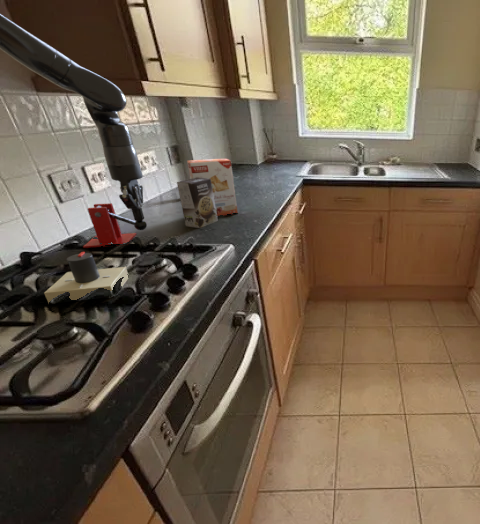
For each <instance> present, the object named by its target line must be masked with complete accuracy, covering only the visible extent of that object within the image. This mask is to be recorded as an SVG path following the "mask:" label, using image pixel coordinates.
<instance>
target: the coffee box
mask: <svg viewBox="0 0 480 524" xmlns="http://www.w3.org/2000/svg"><path fill="white" fill-rule="evenodd" d="M176 184H177V189H178V190H177V191H178V195H179V200H180V204H181V209H182V215H183V218H184V224H185V227H190V228H197V229H201V228H203V227H206V226H209V225H211V224H214V223H216V222H218V221H219V220H218V216H217V212H216V207H215V201H214V195H213V189H212V183H211V179H207V178H194V179H191V178H189V179H185V180H179V181H176Z"/></svg>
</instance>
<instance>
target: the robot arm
mask: <svg viewBox="0 0 480 524" xmlns="http://www.w3.org/2000/svg"><path fill="white" fill-rule="evenodd" d="M0 51H2V52H4V53H5V54H7V55H8V56H9V57H11V58H12V59H13V60H14V61H16V62H18V63H19V64H21V65H22V66H24V67H25V68H27V69H28V70H30V71H32V72H33V73H35V74H37V75H39V76H41V77H42V78H43V79H46V80H47V81H49V82H50V83H52V84H54V85H55V86H58V87H59V88H61V89H63V90H67V91H69V92H74V93H76V94H77V95H80V96H82V99H83V103H84V105H85V108H86V110H87V112H88V114H89V116H90V118H91V120H92V121H93V123H94V125H95V126H96V129H97V131H98V135H99V139H100V142H101V146H102V149H103V155H104V159H105V162H106V165H107V168H108V172H109V175H110V179H111V180H113V181H116V182H119V184H120V185H119V186H120V187H119V190H120V192H121V194H119V195H118V198H119V199H120V201H121V202H122V203H123V205H124V206H125V207H126V209H127V210H131V212H132V216H133V220H134V221H142V220H143V221H144V220H145V216H144V215H145V214H144V212H143V204H144V191H143V190H144V187H143V185H141V184H140V183H139V181H138V180H141V179H142V178H143V177H144V175H143V173H142V172H143V171H142V168H141V164H140V160H139V157H138V153H137V151H136V148H135V146H134V142H133V138H132V135H131V131H130V129H129V127H128V125H127V124H126V123H124V122H122V120H121V118H120V116H119V114H118V113H119V112H122V111H123V110H124V109H126V106H127V98H126V95H125V94H124V92H123V91H122V89H120V88H119V86H117V85H116V84H114V82H112V81H110V80H108V79H107V78H104V77H103V76H101V75H99V74H98V73H95V72H93V71H91V70H90V69H87V68H85V67H83V66H81V65H79V64H78V63H77V62H75V61H74V60H72V59H71V58H70V57H68V56H67V55H65V54H63V53H62V52H61V51H58V49H56V48H54V47H52V46H51V45H50V44H48V43H47V42H45V41H43V40H41V39H40V38H39V37H38V36H35V35H34V34H33V33H31V32H29V31H27V30H26V29H25V28H23V27H21V26H20V25H18V24H17V23H15V22H14V21H12V20H10V19H9V18H8V17H6V16H4V15H3V14H2V13H0Z"/></svg>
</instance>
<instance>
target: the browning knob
mask: <svg viewBox="0 0 480 524" xmlns="http://www.w3.org/2000/svg"><path fill="white" fill-rule="evenodd" d="M66 261H67V264H68V266H69V269H70V272H72V274H73V276H74V279H75V281H76V282H77V283H87V282H91V281H94V280H96V279H98V278H99V277H100V275H99V272H98V269H99V268H98V266H97V264H96V261H95V259H94V256H93V254H92V253H91V252H86V251H81V252H80V253H75V254H73V255H70V256H67V258H66Z"/></svg>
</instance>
